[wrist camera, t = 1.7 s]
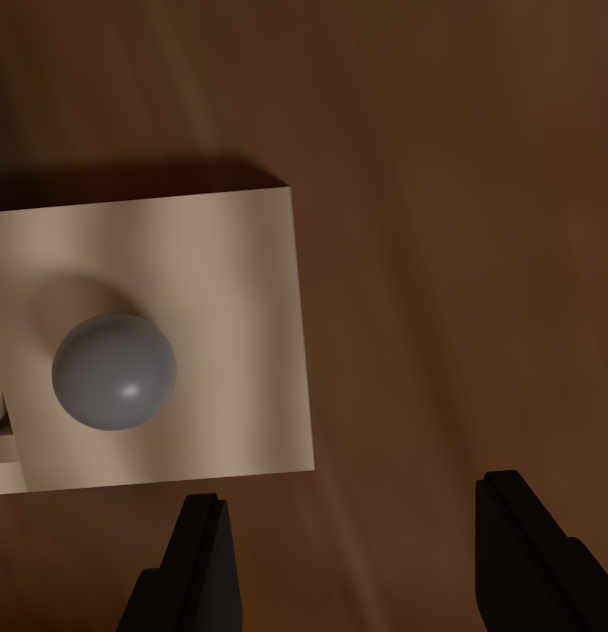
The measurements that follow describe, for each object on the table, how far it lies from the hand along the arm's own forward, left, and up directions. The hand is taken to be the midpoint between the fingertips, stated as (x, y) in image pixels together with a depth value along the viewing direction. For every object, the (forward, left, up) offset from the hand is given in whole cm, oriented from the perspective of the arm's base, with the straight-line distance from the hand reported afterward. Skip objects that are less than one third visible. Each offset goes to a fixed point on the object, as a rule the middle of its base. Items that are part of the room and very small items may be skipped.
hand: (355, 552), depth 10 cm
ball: (+8, +3, -12) cm, 15 cm away
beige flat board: (+14, +5, -17) cm, 23 cm away
